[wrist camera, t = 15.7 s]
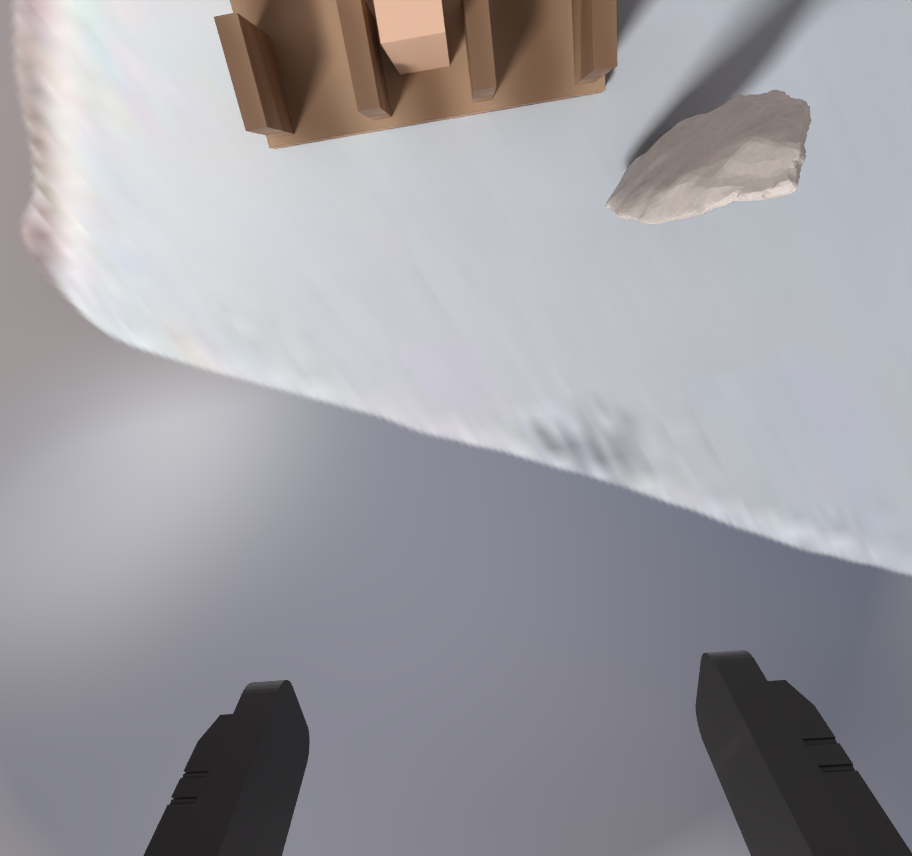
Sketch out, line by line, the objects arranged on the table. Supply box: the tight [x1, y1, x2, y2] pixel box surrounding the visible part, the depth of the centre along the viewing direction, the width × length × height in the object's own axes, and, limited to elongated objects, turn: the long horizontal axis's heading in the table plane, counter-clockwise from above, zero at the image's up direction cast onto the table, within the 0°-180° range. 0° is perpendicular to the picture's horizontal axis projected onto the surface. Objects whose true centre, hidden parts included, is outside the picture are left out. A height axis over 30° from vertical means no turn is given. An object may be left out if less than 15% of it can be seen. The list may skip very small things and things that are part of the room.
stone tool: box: [605, 90, 811, 224], centre depth 27 cm, size 9×3×15 cm, turn 137°
